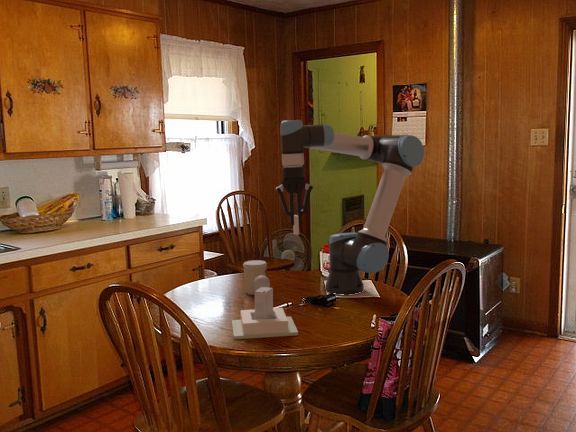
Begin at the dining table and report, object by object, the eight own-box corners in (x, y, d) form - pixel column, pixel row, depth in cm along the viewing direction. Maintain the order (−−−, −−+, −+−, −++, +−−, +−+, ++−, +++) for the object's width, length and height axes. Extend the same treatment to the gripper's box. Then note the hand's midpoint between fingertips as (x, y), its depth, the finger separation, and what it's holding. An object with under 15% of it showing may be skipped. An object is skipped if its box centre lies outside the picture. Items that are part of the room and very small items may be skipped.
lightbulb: (268, 307, 212) (267, 277, 211) (252, 306, 214) (251, 277, 212) (272, 302, 218) (271, 273, 217) (256, 302, 220) (255, 273, 218)
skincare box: (261, 322, 193) (260, 286, 191) (274, 323, 191) (273, 287, 190) (254, 328, 187) (253, 291, 185) (267, 329, 185) (266, 292, 184)
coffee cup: (271, 292, 232) (271, 262, 231) (251, 296, 227) (250, 266, 225) (259, 287, 240) (258, 259, 238) (239, 291, 235) (238, 262, 233)
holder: (291, 319, 198) (290, 306, 198) (298, 335, 183) (298, 321, 182) (231, 322, 196) (231, 309, 195) (233, 339, 180) (233, 325, 179)
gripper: (309, 164, 204) (312, 230, 208) (272, 166, 202) (276, 233, 206) (314, 165, 197) (317, 234, 200) (275, 168, 195) (279, 237, 198)
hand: (296, 234), depth 203 cm, fingers closed
